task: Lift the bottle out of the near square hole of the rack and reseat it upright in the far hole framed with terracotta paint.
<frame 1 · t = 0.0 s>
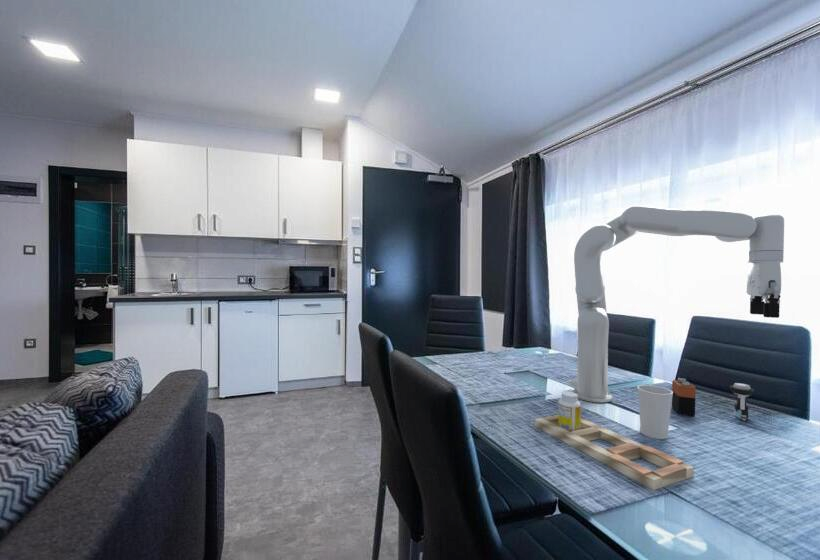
hand: (763, 315, 108), 31 cm above the table, tool pointing down, fingers open, 9 cm apart
supplement bottle: (569, 431, 99), resting in rack
rack: (603, 447, 90), on the table
cup: (653, 434, 98), on the table
battery: (683, 412, 115), on the table
push button: (741, 419, 110), on the table
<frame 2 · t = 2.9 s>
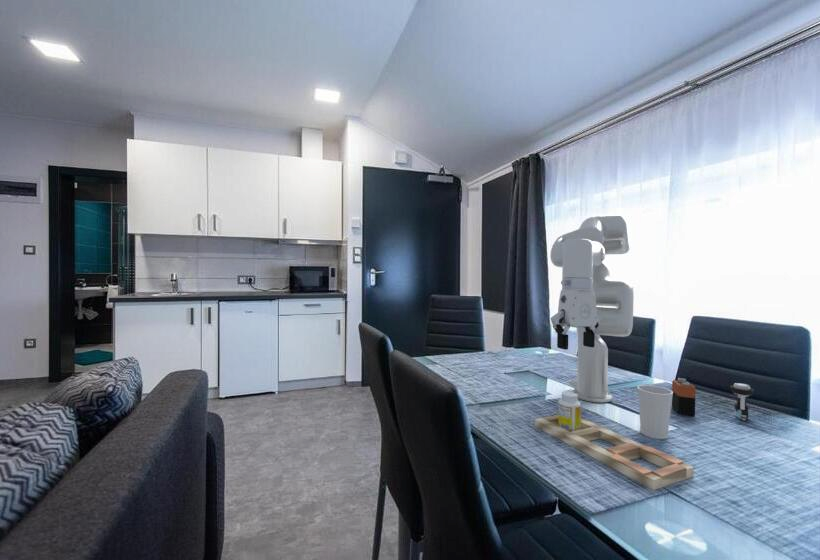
hand: (575, 347, 99), 23 cm above the table, tool pointing down, fingers open, 9 cm apart
nothing on the table moved.
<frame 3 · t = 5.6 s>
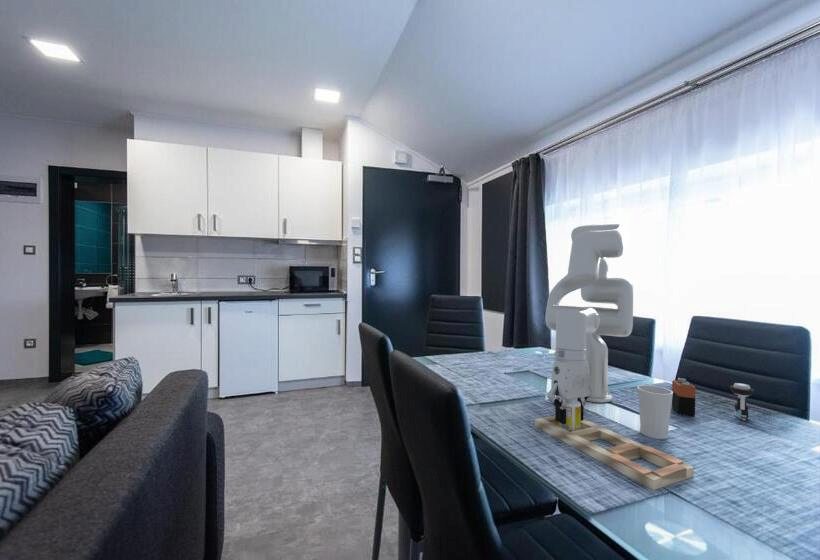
hand: (569, 419, 99), 3 cm above the table, tool pointing down, fingers closed on supplement bottle, 5 cm apart
supplement bottle: (569, 431, 99), resting in rack, touching gripper
everything else where it was.
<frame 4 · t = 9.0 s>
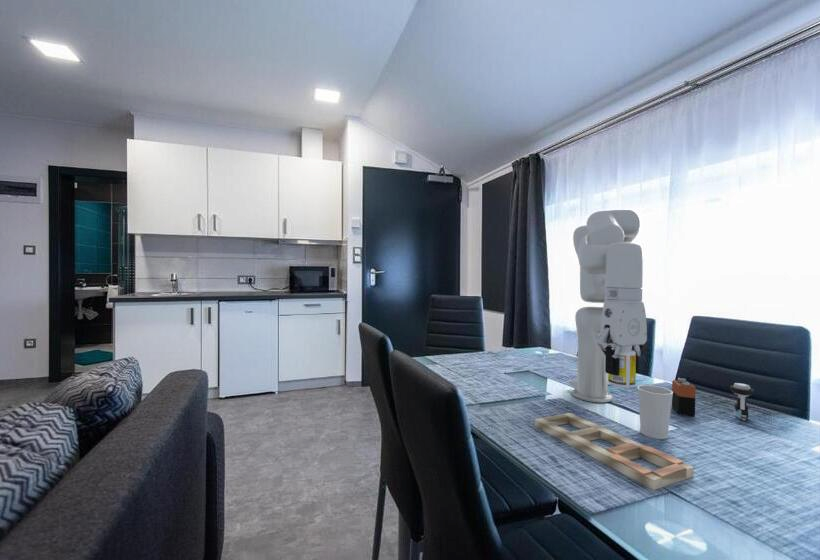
hand: (621, 372, 85), 20 cm above the table, tool pointing down, fingers closed on supplement bottle, 5 cm apart
supplement bottle: (621, 385, 85), point 17 cm above the table, touching gripper
everything else where it was.
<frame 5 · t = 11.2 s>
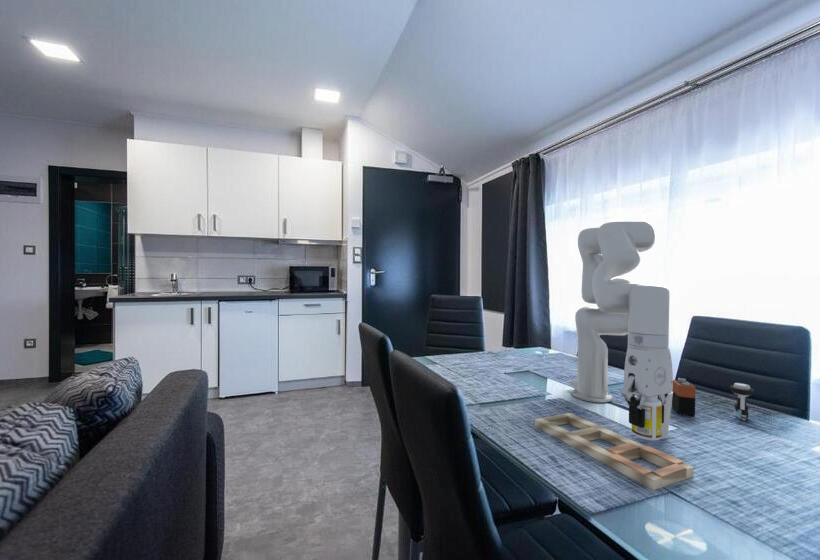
hand: (646, 422, 80), 10 cm above the table, tool pointing down, fingers closed on supplement bottle, 5 cm apart
supplement bottle: (646, 436, 80), point 7 cm above the table, touching gripper
everything else where it was.
when the fingers open (4 cm above the table, at t = 12.8 s): supplement bottle drops 1 cm, resting in rack.
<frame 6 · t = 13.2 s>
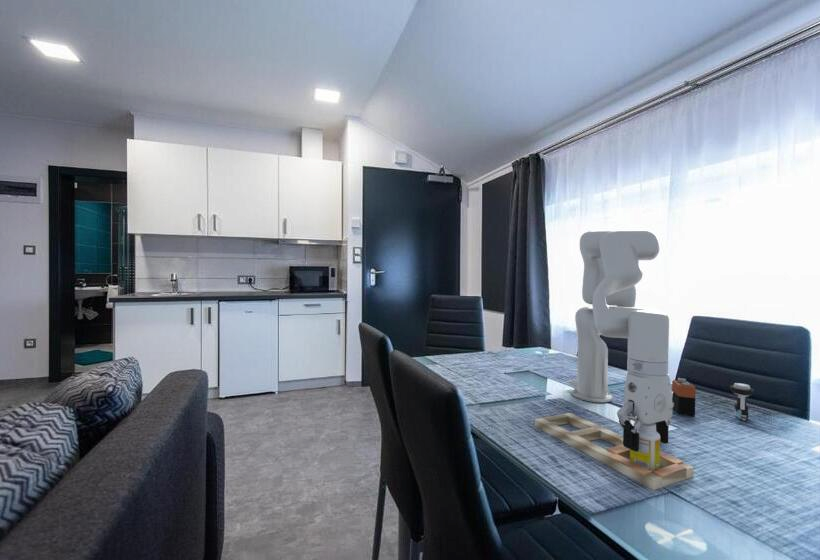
hand: (645, 444, 80), 5 cm above the table, tool pointing down, fingers open, 9 cm apart
supplement bottle: (644, 469, 80), resting in rack
everything else where it was.
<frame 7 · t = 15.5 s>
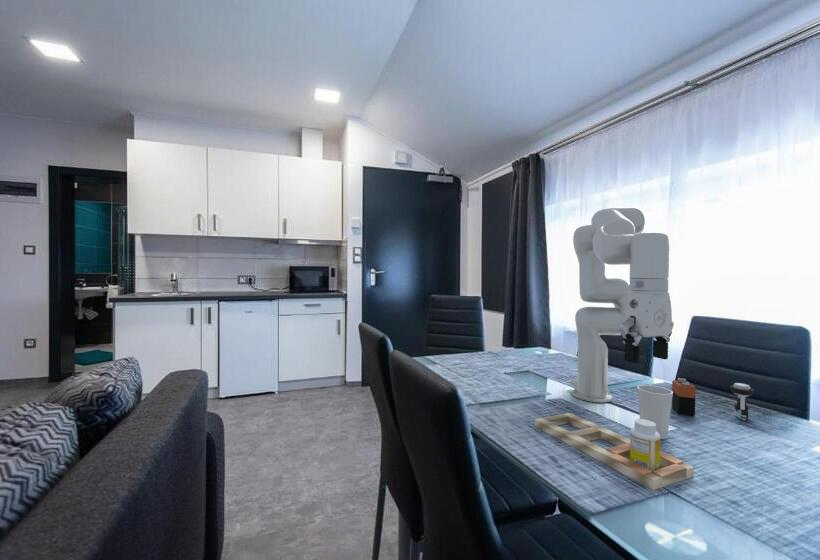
hand: (646, 360, 85), 23 cm above the table, tool pointing down, fingers open, 9 cm apart
nothing on the table moved.
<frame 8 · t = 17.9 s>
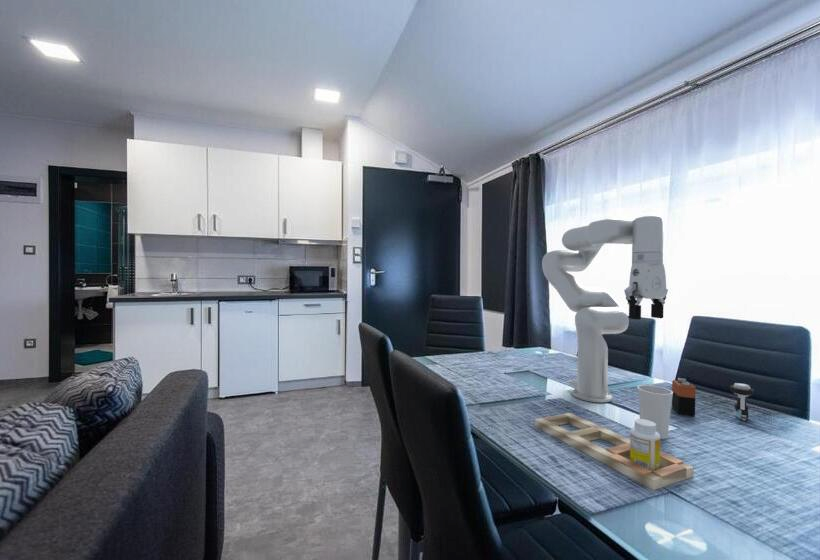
hand: (646, 318, 105), 30 cm above the table, tool pointing down, fingers open, 9 cm apart
nothing on the table moved.
at the end: supplement bottle 0.2 cm from the target spot on the rack, point 0.0 cm above the rack's base; supplement bottle tilted 0°; the gripper is holding nothing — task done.
